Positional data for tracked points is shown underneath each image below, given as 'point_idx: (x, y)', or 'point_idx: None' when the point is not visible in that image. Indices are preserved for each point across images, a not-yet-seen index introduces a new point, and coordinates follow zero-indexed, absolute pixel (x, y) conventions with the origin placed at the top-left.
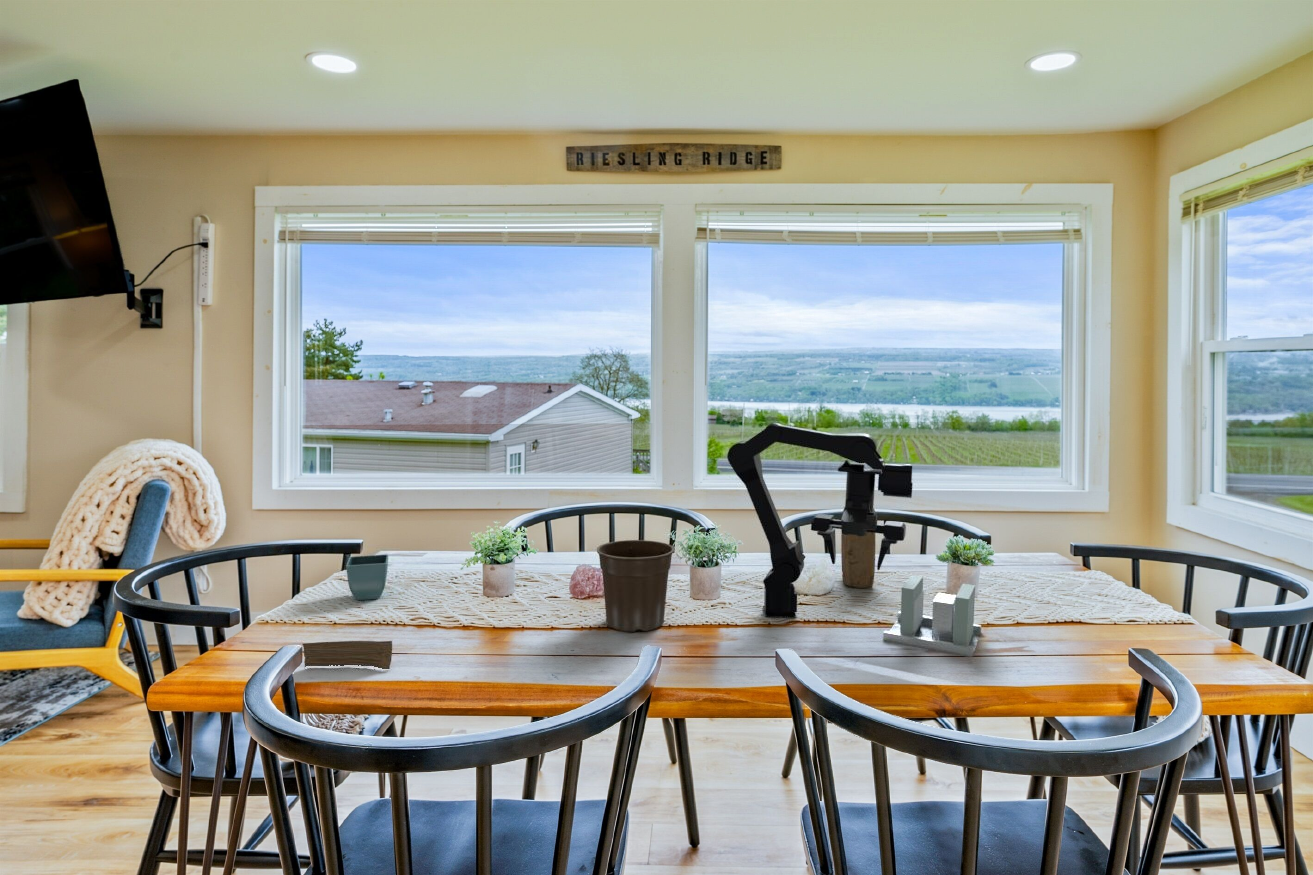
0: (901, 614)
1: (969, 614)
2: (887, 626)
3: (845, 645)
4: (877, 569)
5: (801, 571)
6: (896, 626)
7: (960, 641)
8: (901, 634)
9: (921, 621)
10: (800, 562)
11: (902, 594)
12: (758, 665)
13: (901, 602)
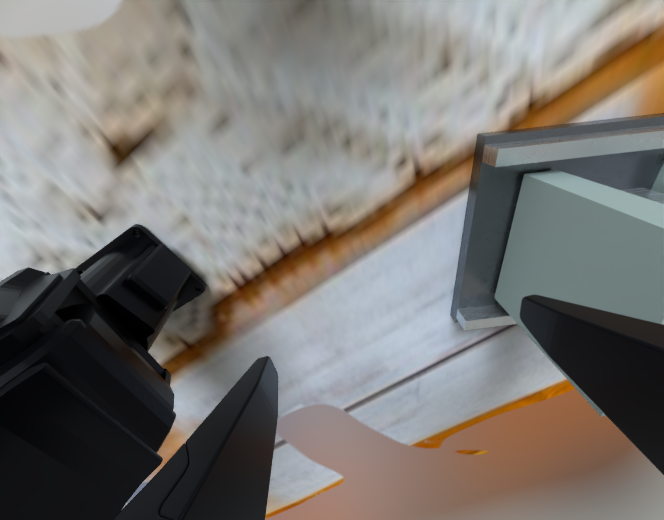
0: (534, 340)
1: None
2: (447, 193)
3: (381, 350)
4: (522, 321)
5: (148, 385)
6: (480, 221)
7: None
8: (505, 320)
9: (564, 173)
10: (151, 469)
11: (583, 393)
12: (296, 459)
13: (559, 368)
